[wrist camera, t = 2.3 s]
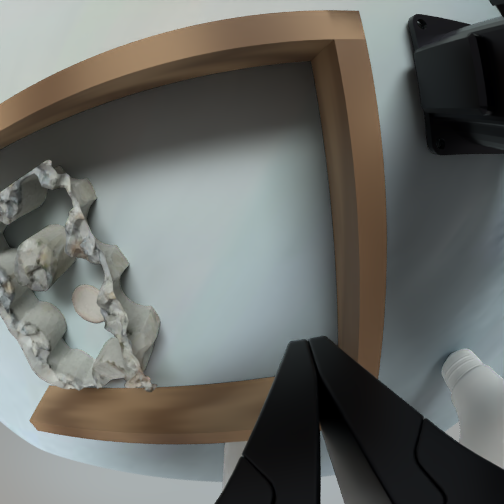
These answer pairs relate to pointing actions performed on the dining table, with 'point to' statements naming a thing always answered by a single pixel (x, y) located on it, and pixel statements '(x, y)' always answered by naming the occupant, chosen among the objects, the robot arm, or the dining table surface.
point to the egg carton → (84, 296)
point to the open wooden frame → (340, 185)
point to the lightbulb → (477, 404)
